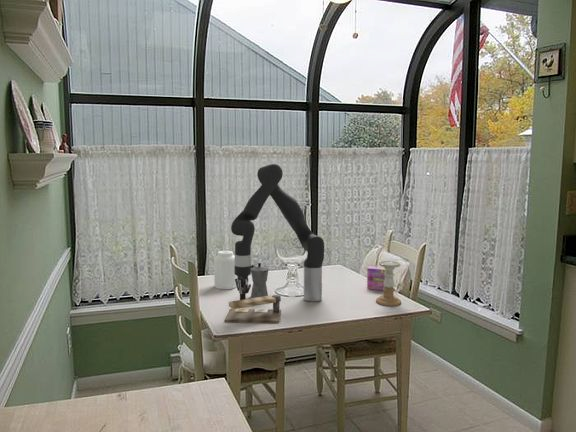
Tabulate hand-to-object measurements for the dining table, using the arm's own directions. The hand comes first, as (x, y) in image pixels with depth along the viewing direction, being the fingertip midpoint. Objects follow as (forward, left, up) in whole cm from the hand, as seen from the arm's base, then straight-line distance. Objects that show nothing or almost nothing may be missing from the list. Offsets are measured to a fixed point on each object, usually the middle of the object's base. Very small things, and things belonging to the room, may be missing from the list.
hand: (242, 301), depth 220 cm
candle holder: (-70, -25, -7) cm, 75 cm away
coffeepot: (-4, -31, -7) cm, 32 cm away
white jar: (+16, -48, -7) cm, 51 cm away
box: (-68, -50, -7) cm, 85 cm away
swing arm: (-6, +1, -1) cm, 6 cm away
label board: (-5, 0, -7) cm, 9 cm away
